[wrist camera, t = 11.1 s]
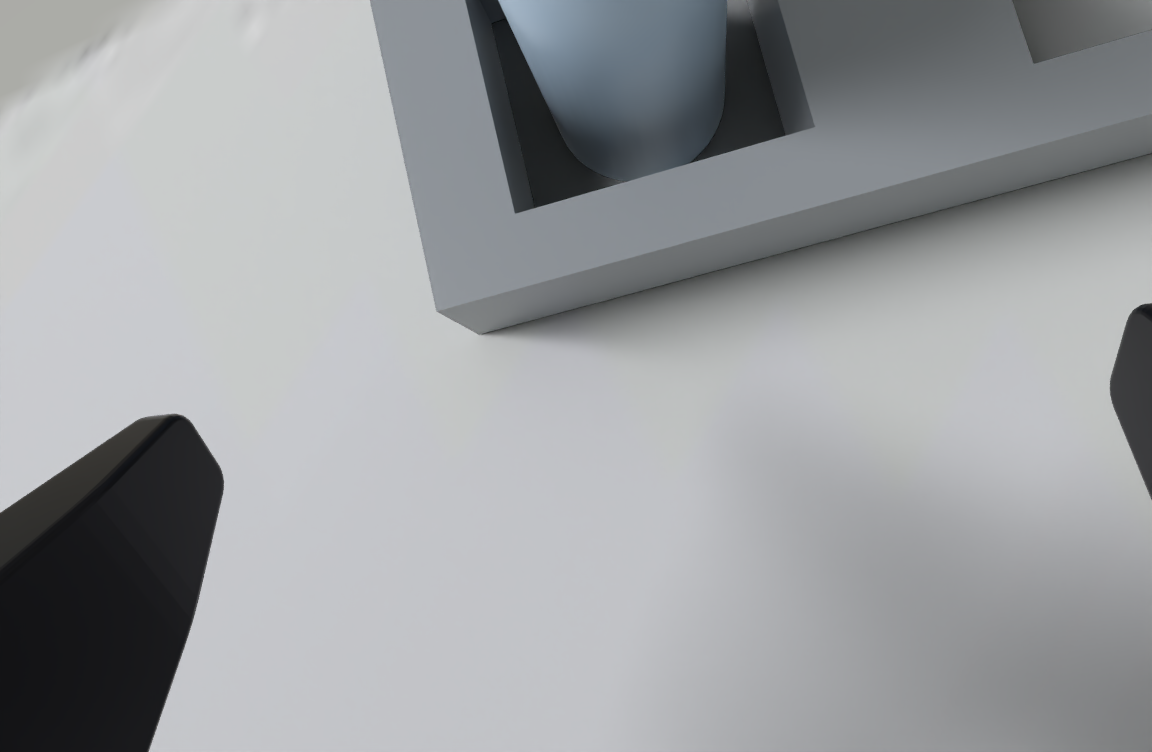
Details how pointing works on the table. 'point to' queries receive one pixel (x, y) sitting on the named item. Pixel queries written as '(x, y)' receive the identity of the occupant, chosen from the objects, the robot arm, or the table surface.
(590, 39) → the plug
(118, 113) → the table surface
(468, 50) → the panel
